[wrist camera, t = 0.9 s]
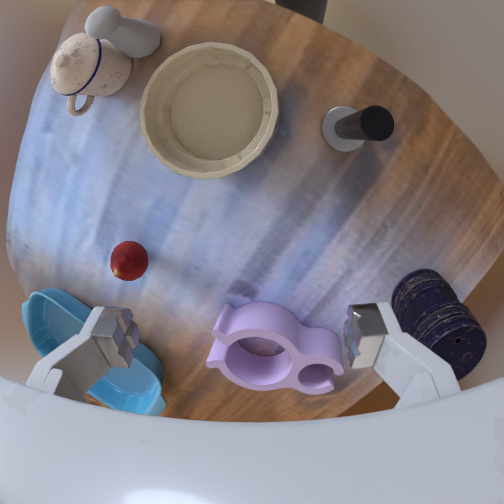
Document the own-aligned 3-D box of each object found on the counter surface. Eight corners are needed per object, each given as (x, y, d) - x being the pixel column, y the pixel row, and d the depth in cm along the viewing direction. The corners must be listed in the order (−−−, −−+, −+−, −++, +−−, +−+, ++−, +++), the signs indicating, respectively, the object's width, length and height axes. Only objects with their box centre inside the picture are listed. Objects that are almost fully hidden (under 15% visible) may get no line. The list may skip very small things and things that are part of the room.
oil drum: (443, 315, 41) (487, 390, 25) (391, 328, 43) (420, 413, 27) (446, 262, 38) (505, 329, 21) (389, 275, 40) (430, 355, 24)
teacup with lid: (97, 43, 33) (49, 29, 22) (142, 45, 33) (95, 26, 22) (77, 111, 38) (25, 113, 27) (118, 120, 38) (67, 121, 27)
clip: (350, 323, 44) (356, 351, 38) (322, 376, 49) (323, 405, 43) (227, 290, 45) (215, 315, 39) (213, 348, 50) (203, 375, 44)
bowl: (176, 49, 33) (157, 38, 27) (294, 68, 32) (293, 56, 26) (151, 158, 39) (129, 163, 34) (263, 186, 38) (256, 194, 33)
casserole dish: (193, 361, 52) (180, 388, 46) (159, 410, 61) (148, 432, 55) (44, 258, 50) (21, 273, 43) (39, 326, 59) (22, 341, 52)
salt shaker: (174, 39, 32) (126, 10, 20) (146, 68, 34) (91, 51, 22) (151, 20, 31) (101, -9, 19) (125, 48, 33) (69, 29, 21)
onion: (119, 243, 45) (91, 263, 38) (143, 228, 43) (116, 247, 36) (137, 273, 47) (113, 297, 39) (163, 260, 45) (139, 284, 38)
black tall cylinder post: (326, 102, 33) (349, 74, 17) (368, 116, 33) (420, 103, 17) (315, 142, 35) (329, 146, 19) (356, 156, 35) (401, 172, 19)
